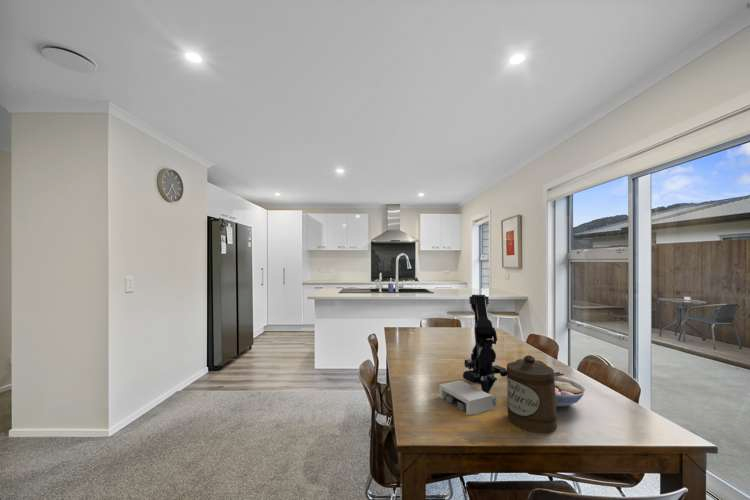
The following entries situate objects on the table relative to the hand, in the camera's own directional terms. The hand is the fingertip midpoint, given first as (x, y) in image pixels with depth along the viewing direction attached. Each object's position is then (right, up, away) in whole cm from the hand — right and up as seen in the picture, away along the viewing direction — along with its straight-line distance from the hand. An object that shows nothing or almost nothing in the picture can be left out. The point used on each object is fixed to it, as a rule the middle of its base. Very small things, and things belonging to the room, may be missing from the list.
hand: (485, 395), depth 124 cm
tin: (+30, -3, +24) cm, 39 cm away
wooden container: (+9, 0, -19) cm, 21 cm away
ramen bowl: (+24, -1, -4) cm, 24 cm away
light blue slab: (-5, -1, -3) cm, 6 cm away
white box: (-10, -1, -5) cm, 11 cm away
